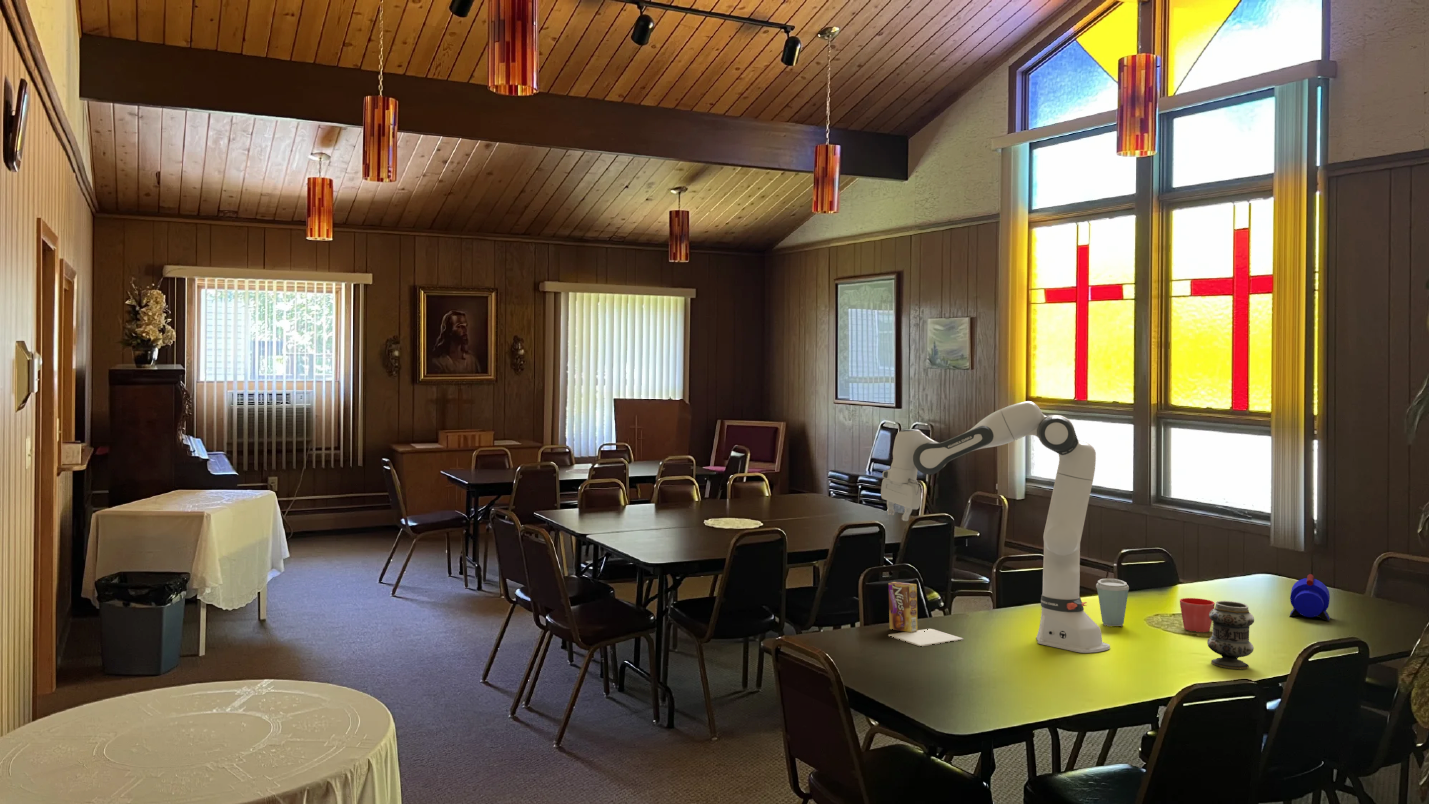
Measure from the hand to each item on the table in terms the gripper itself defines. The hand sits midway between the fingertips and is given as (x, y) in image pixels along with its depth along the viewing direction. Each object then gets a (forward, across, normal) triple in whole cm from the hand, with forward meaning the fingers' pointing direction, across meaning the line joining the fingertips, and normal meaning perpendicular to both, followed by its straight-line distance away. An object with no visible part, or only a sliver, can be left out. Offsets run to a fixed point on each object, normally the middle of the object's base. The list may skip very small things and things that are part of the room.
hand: (897, 517), depth 336 cm
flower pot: (+26, -35, -99) cm, 108 cm away
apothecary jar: (+25, -72, -73) cm, 106 cm away
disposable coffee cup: (+29, -21, -76) cm, 84 cm away
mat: (+35, -19, -4) cm, 40 cm away
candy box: (+36, -9, -2) cm, 37 cm away
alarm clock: (+21, -31, -154) cm, 158 cm away
